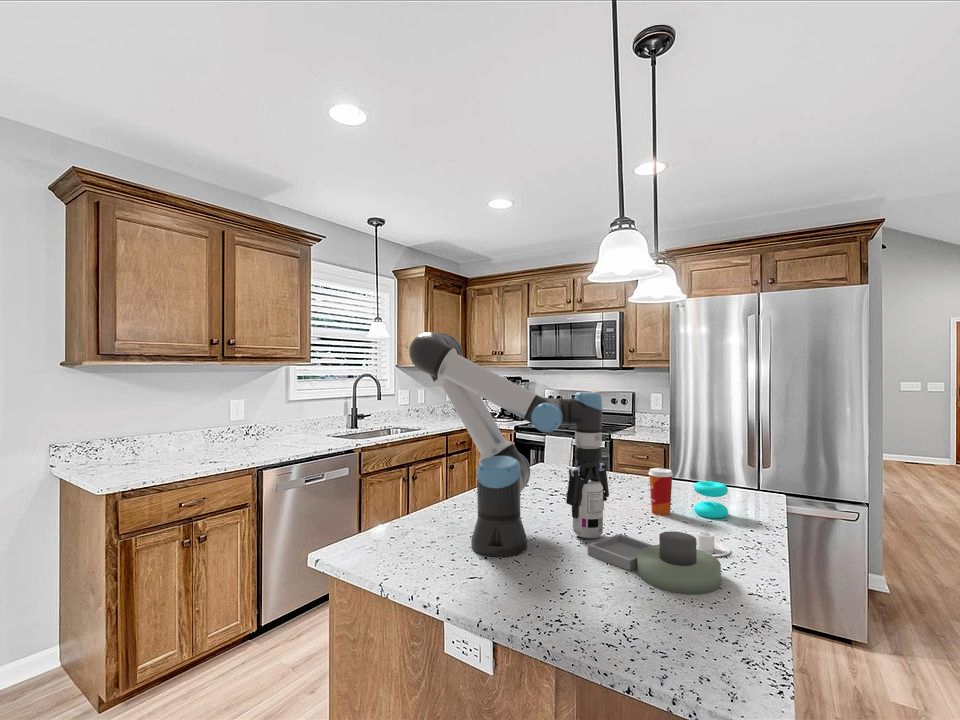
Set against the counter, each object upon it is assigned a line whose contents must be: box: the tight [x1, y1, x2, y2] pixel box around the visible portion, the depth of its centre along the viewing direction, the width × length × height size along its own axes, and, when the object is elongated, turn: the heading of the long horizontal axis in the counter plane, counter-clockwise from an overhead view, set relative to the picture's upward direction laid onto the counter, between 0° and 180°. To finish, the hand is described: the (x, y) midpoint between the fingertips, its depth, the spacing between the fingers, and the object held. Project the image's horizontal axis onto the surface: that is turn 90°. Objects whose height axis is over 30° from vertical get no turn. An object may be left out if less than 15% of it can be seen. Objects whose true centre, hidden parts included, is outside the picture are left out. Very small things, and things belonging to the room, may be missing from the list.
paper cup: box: [647, 467, 674, 516], centre depth 163 cm, size 8×8×14 cm
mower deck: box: [587, 530, 722, 595], centre depth 121 cm, size 18×30×9 cm, turn 37°
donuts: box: [693, 480, 729, 519], centre depth 161 cm, size 10×10×10 cm
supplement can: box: [572, 479, 604, 539], centre depth 142 cm, size 8×8×15 cm
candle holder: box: [696, 530, 731, 557], centre depth 133 cm, size 12×12×4 cm
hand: (588, 525), depth 142 cm, fingers closed on supplement can, 8 cm apart
